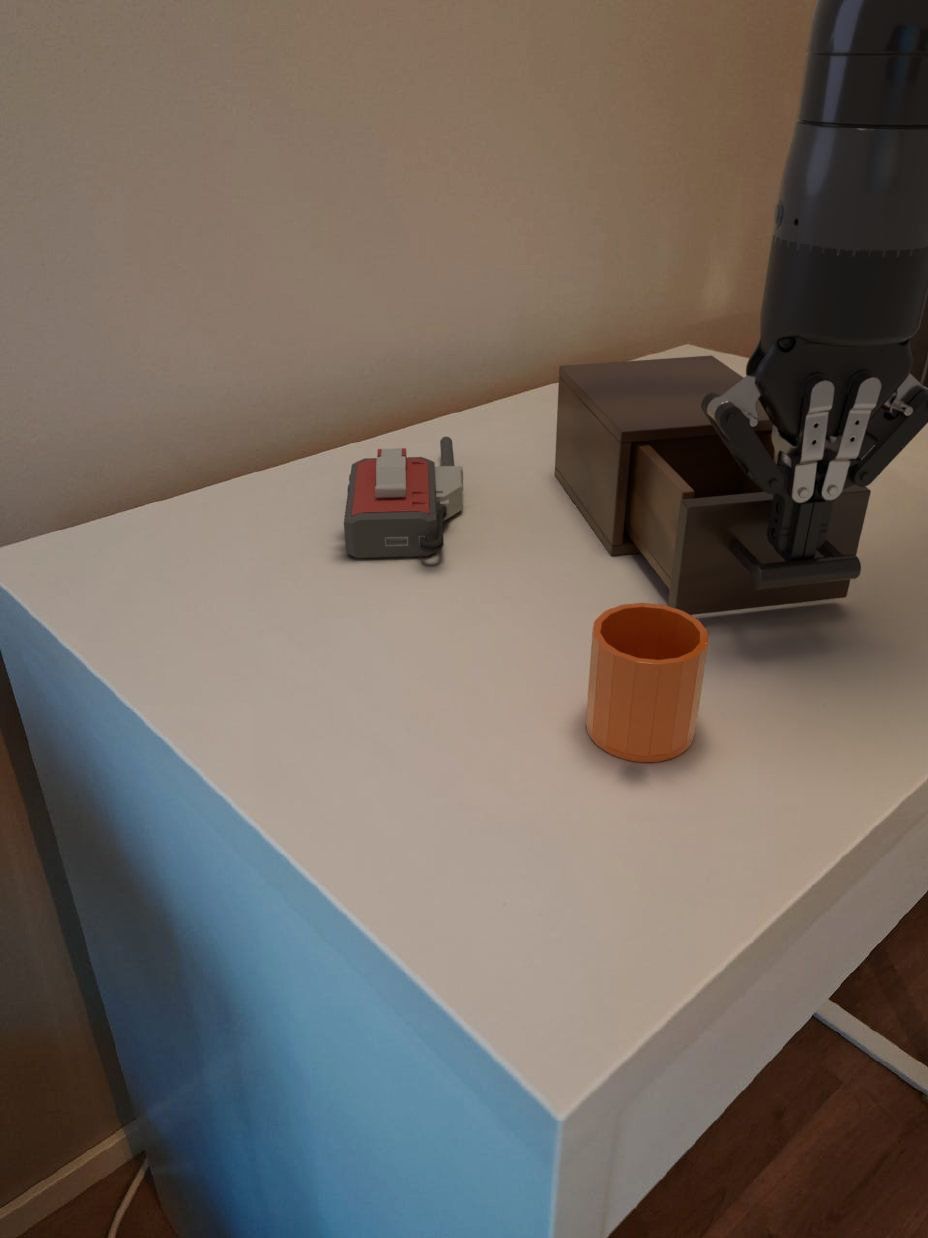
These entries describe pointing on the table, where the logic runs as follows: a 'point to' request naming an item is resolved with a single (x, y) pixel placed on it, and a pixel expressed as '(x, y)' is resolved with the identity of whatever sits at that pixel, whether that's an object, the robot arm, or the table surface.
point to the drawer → (728, 530)
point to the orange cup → (645, 681)
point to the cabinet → (628, 427)
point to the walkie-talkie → (401, 503)
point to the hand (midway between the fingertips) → (792, 554)
